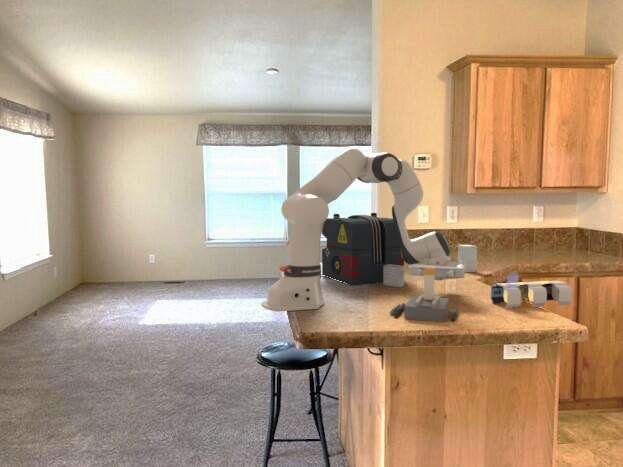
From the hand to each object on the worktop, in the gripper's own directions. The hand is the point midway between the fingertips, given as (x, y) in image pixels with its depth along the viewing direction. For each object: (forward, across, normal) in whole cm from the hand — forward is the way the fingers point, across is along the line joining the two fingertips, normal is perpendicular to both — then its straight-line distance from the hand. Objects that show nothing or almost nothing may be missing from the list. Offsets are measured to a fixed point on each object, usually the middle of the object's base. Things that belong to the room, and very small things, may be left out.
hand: (434, 274), depth 173 cm
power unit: (-42, -38, +11) cm, 58 cm away
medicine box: (-30, -20, +11) cm, 37 cm away
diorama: (-12, +32, +11) cm, 36 cm away
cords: (+16, -1, +11) cm, 19 cm away
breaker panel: (+16, 0, +11) cm, 19 cm away
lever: (+12, 0, +6) cm, 14 cm away
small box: (-80, +7, +11) cm, 81 cm away
